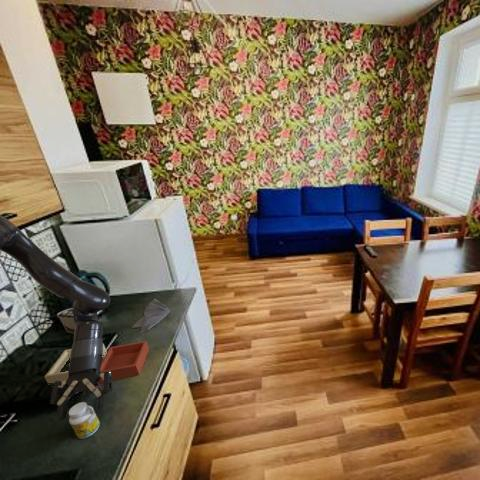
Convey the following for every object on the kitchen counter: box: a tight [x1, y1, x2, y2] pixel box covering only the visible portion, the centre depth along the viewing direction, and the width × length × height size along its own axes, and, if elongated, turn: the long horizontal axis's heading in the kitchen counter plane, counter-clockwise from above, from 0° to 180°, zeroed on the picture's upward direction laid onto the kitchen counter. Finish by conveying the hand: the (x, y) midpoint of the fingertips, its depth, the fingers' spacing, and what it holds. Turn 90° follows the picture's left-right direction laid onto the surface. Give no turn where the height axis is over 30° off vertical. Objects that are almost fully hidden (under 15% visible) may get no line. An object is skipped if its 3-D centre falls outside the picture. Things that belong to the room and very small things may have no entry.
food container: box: [56, 307, 75, 334], centre depth 118 cm, size 12×6×10 cm, turn 80°
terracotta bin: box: [98, 340, 150, 384], centre depth 101 cm, size 13×13×5 cm
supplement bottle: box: [68, 401, 101, 439], centre depth 78 cm, size 5×5×10 cm
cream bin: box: [44, 343, 108, 384], centre depth 99 cm, size 13×13×5 cm
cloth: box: [131, 297, 171, 334], centre depth 129 cm, size 26×14×2 cm, turn 12°
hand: (80, 415), depth 77 cm, fingers open, 8 cm apart
